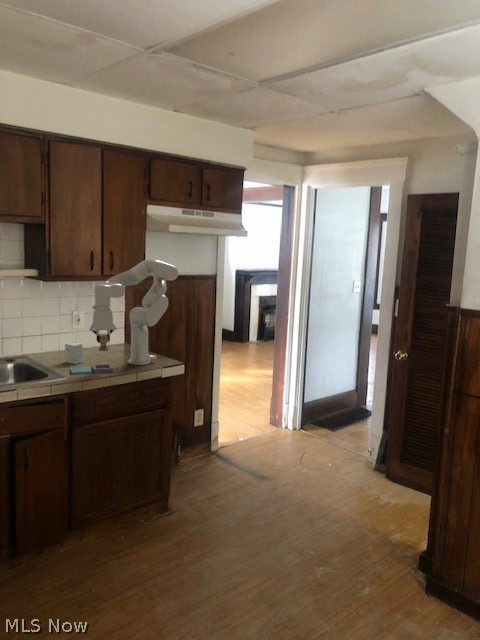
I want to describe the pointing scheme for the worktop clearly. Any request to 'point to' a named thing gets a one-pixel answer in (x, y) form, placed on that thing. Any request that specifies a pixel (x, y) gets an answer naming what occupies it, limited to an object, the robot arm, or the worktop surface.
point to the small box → (73, 353)
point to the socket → (102, 368)
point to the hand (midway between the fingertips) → (103, 341)
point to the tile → (80, 370)
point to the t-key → (103, 342)
